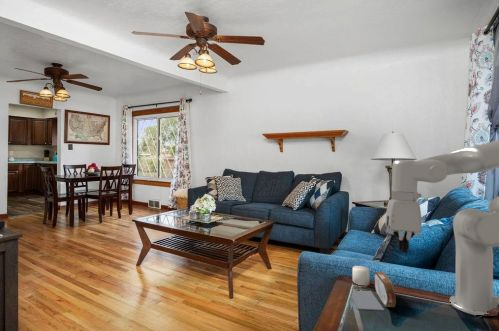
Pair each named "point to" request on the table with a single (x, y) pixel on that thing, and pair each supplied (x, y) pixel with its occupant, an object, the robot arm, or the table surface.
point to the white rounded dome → (361, 275)
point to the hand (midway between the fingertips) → (402, 251)
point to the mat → (366, 300)
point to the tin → (384, 289)
